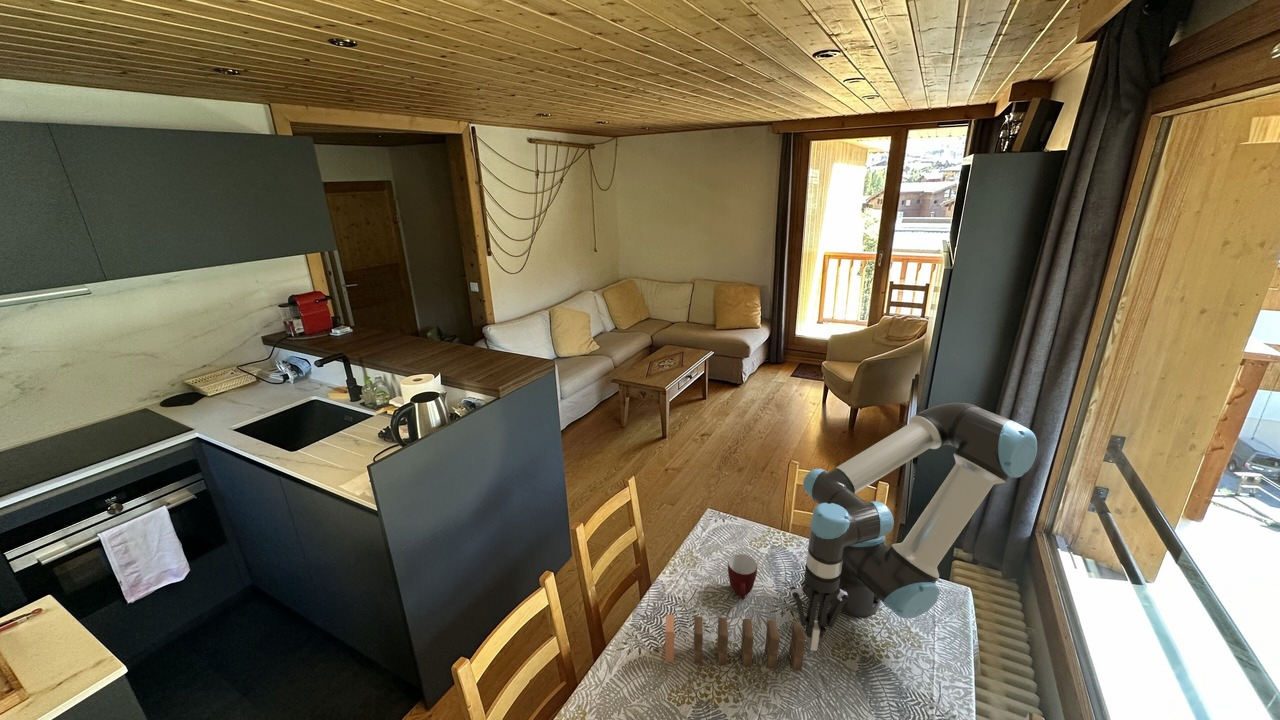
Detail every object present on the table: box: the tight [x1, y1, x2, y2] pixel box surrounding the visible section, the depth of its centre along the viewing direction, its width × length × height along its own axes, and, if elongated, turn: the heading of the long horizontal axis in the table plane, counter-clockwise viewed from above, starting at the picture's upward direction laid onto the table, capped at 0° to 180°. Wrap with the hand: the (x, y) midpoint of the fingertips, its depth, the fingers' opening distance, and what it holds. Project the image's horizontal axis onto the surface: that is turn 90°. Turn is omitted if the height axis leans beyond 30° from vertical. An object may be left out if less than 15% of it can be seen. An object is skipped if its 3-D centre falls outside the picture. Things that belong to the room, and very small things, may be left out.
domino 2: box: [693, 615, 704, 665], centre depth 122 cm, size 2×5×10 cm, turn 175°
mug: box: [727, 553, 758, 600], centre depth 140 cm, size 11×8×10 cm
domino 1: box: [664, 614, 675, 663], centre depth 123 cm, size 2×5×10 cm, turn 175°
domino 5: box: [764, 619, 780, 670], centre depth 120 cm, size 2×5×10 cm, turn 175°
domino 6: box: [788, 621, 806, 671], centre depth 120 cm, size 2×5×10 cm, turn 175°
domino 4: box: [740, 618, 755, 668], centre depth 121 cm, size 2×5×10 cm, turn 175°
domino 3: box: [716, 617, 729, 667], centre depth 121 cm, size 2×5×10 cm, turn 175°
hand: (812, 645), depth 119 cm, fingers closed
